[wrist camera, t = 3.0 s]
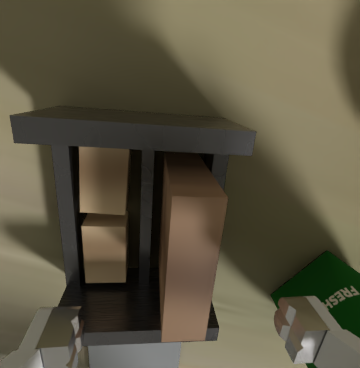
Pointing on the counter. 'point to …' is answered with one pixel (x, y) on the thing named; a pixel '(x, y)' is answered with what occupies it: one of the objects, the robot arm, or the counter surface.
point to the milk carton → (328, 290)
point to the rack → (147, 142)
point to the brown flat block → (188, 245)
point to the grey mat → (135, 355)
